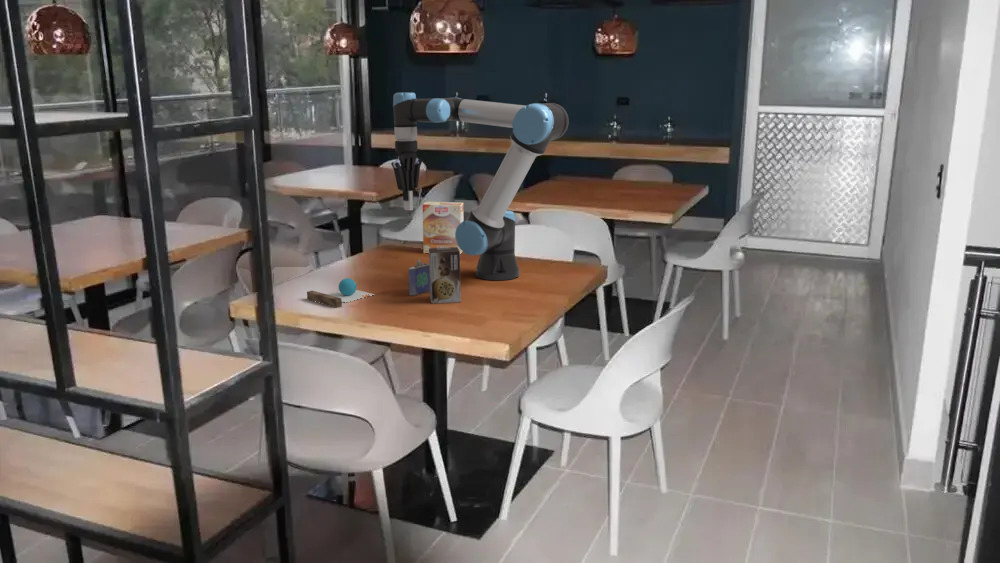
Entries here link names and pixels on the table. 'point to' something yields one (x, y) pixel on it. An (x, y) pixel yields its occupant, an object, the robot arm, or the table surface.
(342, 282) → the ball
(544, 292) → the table surface
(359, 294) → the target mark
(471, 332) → the table surface
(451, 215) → the coffeecake box
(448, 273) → the cookie box
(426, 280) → the flask
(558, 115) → the robot arm
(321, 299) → the strip
